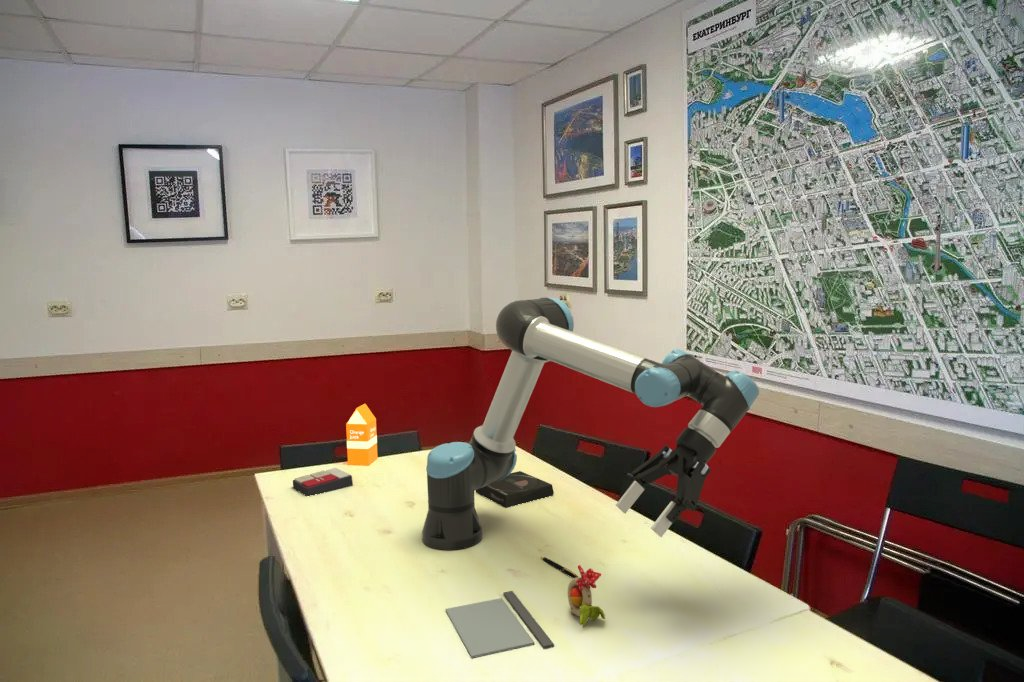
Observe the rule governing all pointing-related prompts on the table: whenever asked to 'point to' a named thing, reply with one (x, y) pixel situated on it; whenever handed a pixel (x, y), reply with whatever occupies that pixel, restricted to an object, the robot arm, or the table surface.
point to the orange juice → (361, 437)
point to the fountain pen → (560, 567)
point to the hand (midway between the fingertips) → (637, 520)
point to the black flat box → (516, 489)
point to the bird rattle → (584, 596)
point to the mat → (495, 626)
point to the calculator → (323, 482)
